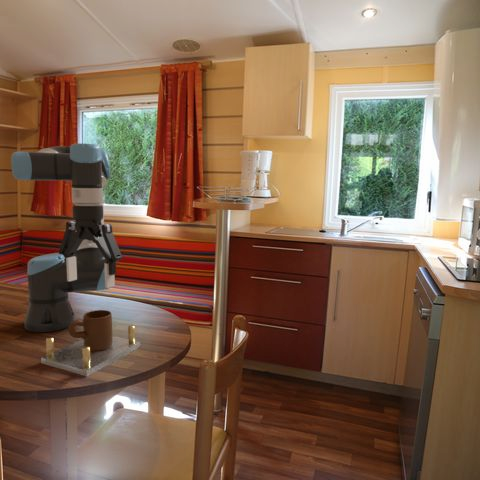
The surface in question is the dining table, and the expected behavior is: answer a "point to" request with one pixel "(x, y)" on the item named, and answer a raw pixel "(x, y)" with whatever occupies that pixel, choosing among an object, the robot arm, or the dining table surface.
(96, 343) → the mug
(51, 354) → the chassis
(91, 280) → the robot arm
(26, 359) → the dining table surface
